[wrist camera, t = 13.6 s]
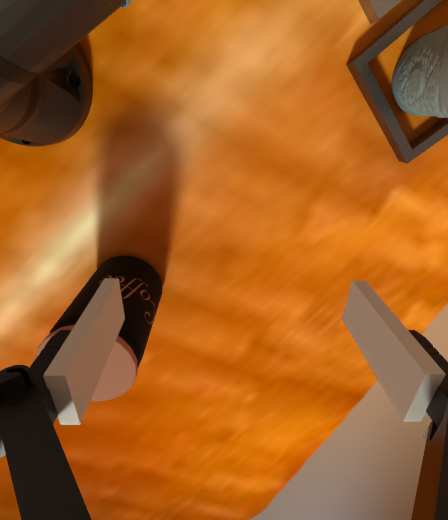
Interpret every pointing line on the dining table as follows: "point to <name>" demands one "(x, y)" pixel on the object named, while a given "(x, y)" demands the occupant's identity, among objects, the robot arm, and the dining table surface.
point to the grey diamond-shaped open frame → (377, 8)
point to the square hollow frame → (377, 98)
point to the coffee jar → (133, 328)
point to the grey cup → (423, 76)
